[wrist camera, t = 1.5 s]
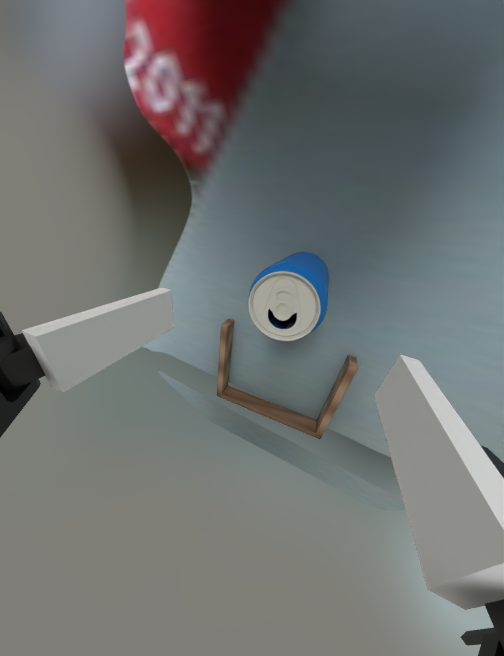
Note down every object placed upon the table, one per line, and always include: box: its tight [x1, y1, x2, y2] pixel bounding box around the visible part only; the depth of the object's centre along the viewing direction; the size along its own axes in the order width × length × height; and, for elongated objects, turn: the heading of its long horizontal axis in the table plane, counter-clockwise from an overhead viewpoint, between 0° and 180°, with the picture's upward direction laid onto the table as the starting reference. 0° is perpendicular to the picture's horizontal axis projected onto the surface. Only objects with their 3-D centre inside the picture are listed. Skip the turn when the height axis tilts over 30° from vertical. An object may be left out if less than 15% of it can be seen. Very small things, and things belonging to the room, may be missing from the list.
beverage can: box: [248, 252, 329, 341], centre depth 20 cm, size 6×6×12 cm
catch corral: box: [217, 319, 358, 439], centre depth 32 cm, size 16×20×2 cm
